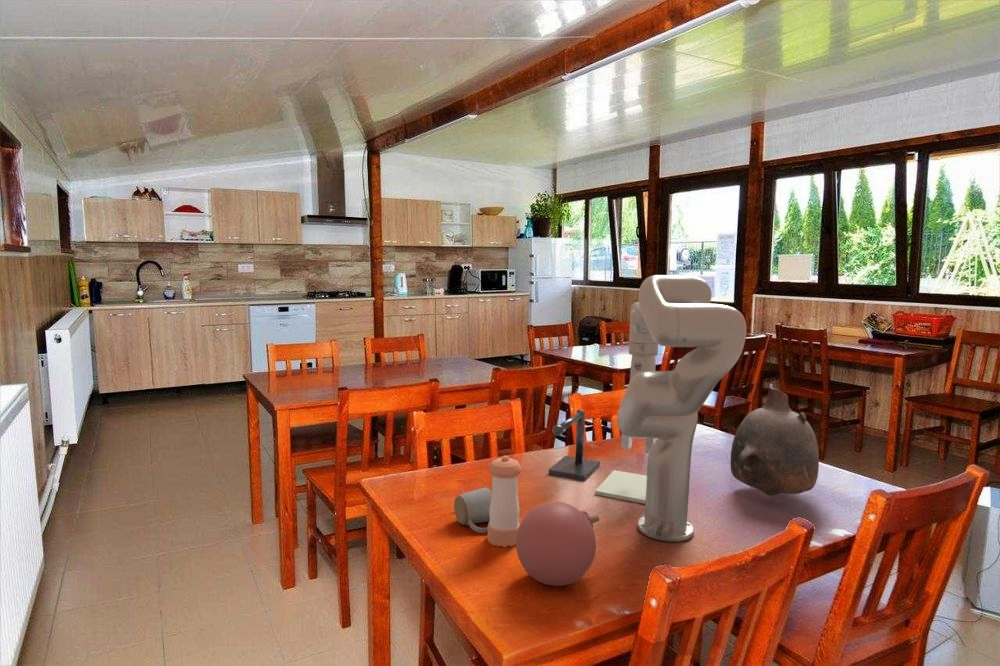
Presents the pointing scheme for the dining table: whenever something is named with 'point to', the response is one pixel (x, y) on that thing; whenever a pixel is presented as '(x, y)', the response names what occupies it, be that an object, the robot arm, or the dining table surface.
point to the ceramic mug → (473, 508)
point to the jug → (775, 449)
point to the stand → (577, 464)
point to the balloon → (556, 543)
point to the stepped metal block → (627, 443)
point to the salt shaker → (504, 502)
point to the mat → (624, 486)
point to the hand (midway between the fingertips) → (640, 415)
